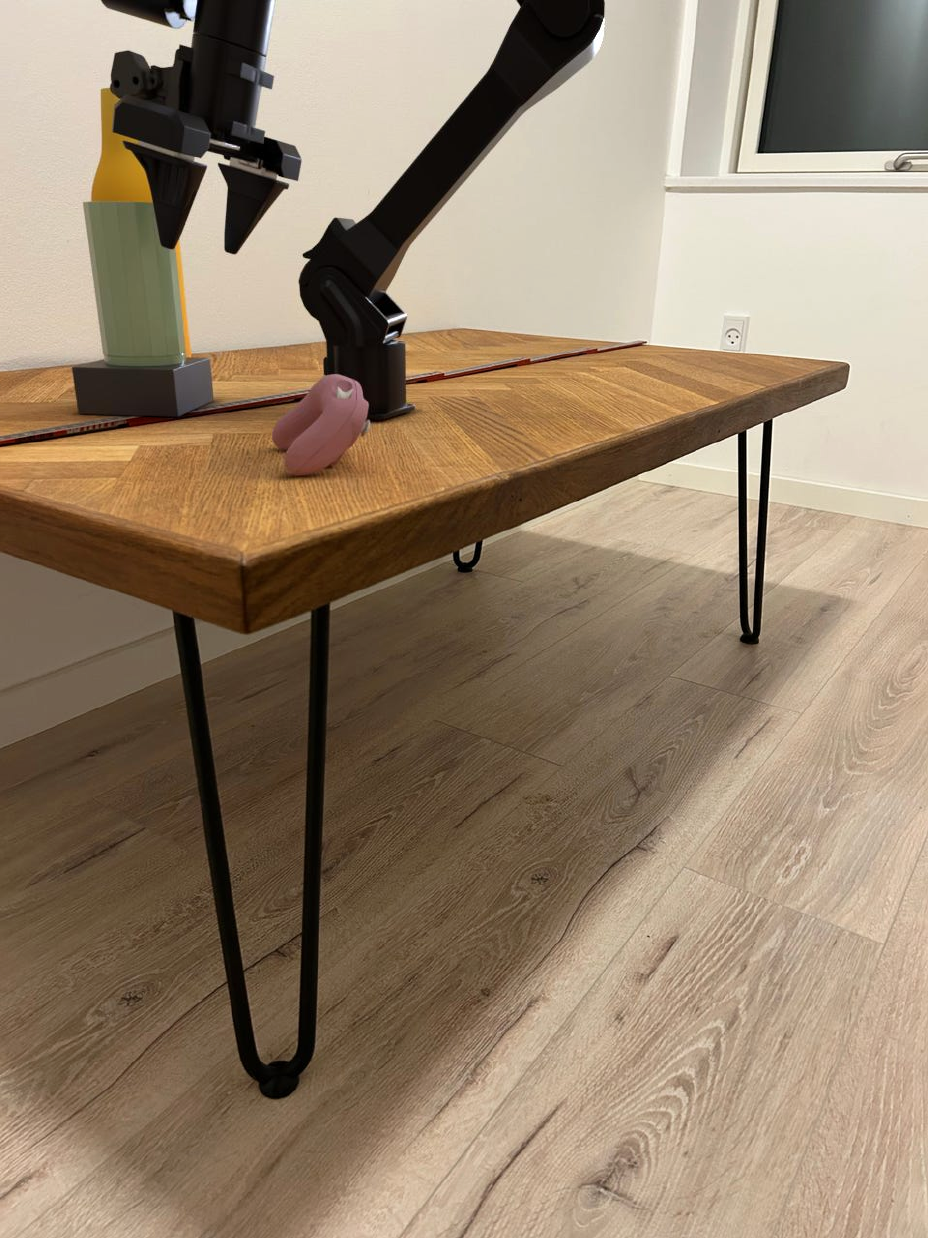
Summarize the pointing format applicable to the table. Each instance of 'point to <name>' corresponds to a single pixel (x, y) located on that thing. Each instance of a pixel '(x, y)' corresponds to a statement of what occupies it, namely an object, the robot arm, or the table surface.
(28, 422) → the table surface
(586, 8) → the robot arm
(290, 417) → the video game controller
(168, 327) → the cup
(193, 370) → the block
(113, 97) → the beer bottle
